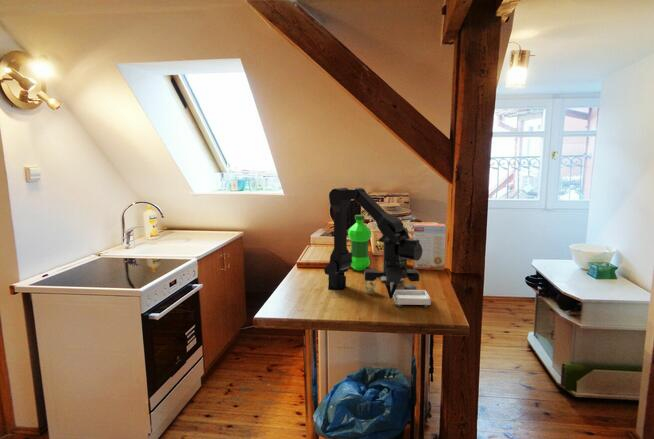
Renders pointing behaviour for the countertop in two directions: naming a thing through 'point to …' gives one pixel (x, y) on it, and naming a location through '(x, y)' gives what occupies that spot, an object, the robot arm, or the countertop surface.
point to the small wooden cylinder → (370, 287)
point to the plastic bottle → (359, 244)
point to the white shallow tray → (412, 297)
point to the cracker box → (430, 245)
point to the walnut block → (399, 286)
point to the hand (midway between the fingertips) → (390, 298)
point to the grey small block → (409, 287)
